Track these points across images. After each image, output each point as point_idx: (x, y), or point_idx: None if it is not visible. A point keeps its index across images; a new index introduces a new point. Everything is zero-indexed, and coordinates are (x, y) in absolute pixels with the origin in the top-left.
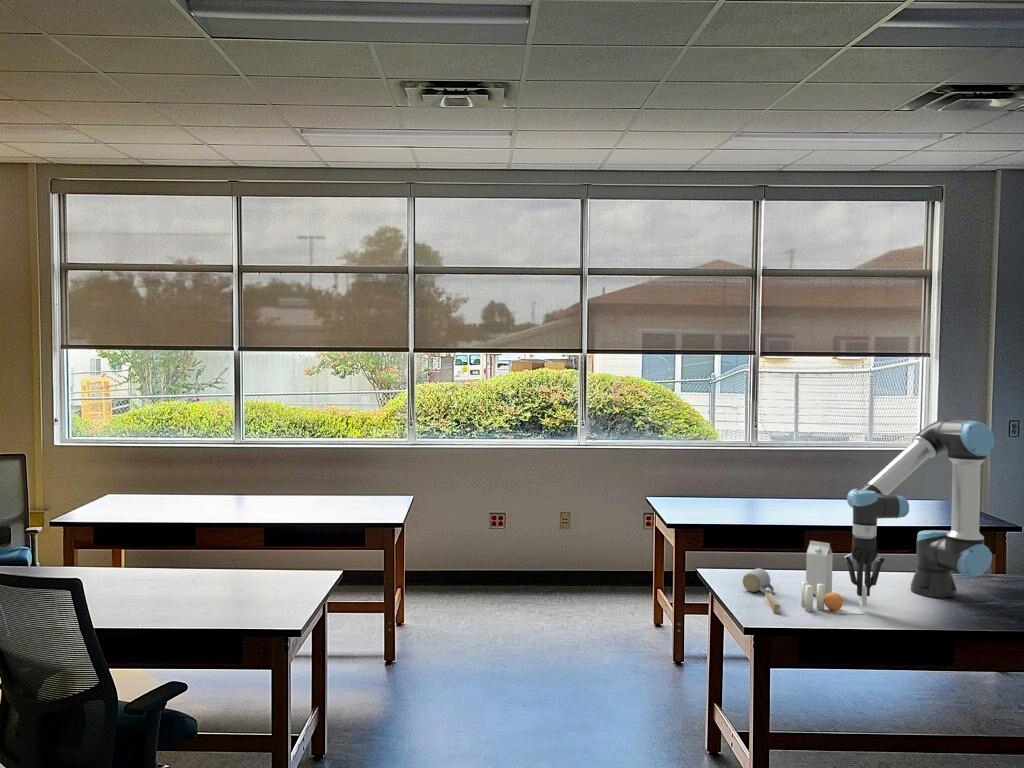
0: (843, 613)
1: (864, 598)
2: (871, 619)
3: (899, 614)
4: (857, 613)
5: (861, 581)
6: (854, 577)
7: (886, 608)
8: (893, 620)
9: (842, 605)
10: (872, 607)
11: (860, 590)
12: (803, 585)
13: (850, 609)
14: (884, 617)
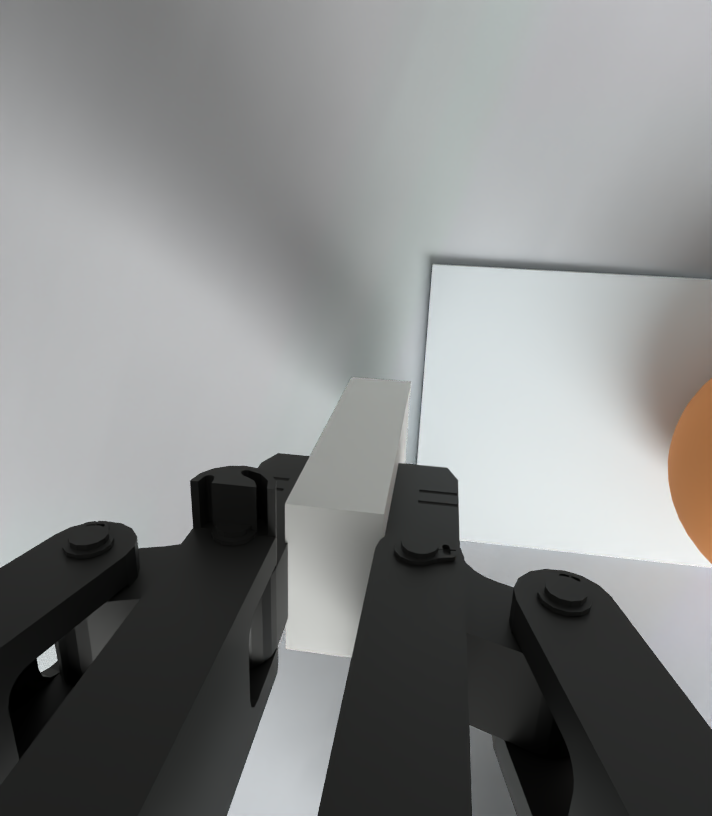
0: (703, 279)
1: (367, 420)
2: (418, 38)
3: (14, 304)
4: (512, 276)
5: (395, 612)
6: (634, 733)
7: (98, 505)
8: (137, 30)
9: (696, 396)
10: None
11: (414, 514)
12: None
13: (526, 437)
14: (213, 161)
